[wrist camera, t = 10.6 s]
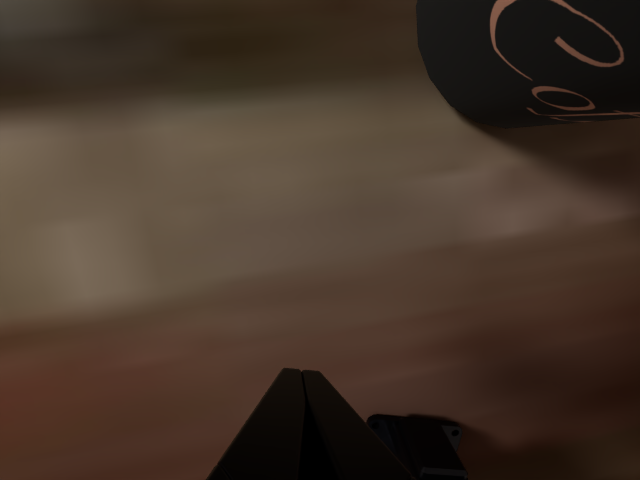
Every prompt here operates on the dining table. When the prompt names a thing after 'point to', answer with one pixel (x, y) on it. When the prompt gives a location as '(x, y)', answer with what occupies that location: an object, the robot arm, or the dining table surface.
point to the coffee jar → (533, 59)
